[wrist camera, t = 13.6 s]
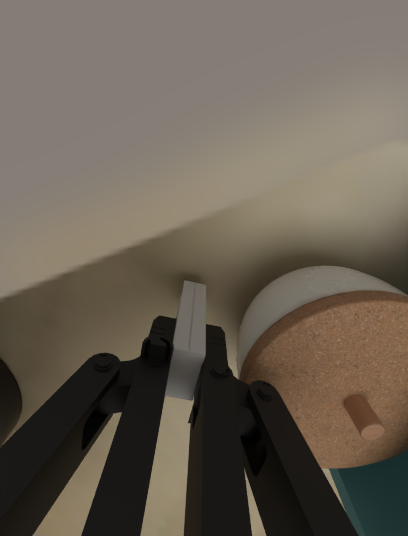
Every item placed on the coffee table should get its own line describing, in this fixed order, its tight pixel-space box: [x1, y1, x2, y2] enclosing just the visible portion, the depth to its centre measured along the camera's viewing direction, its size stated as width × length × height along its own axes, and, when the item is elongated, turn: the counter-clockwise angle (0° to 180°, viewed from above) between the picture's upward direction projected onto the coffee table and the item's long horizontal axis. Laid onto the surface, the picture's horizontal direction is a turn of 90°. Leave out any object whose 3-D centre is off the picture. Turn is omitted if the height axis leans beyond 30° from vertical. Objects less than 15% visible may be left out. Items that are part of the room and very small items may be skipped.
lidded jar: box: [236, 266, 408, 469], centre depth 16 cm, size 11×11×9 cm
